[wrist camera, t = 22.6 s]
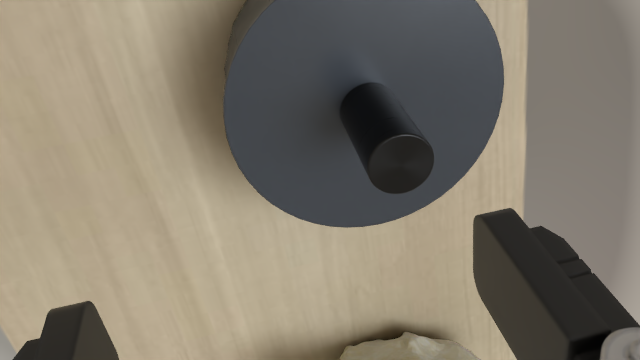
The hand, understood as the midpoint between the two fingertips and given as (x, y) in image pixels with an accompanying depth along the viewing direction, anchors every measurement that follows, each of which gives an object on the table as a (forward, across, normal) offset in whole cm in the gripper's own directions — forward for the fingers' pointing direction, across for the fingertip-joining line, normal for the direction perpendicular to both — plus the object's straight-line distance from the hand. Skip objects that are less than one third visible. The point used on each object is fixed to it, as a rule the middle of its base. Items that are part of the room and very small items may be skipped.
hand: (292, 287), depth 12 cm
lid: (+18, -6, +5) cm, 20 cm away
